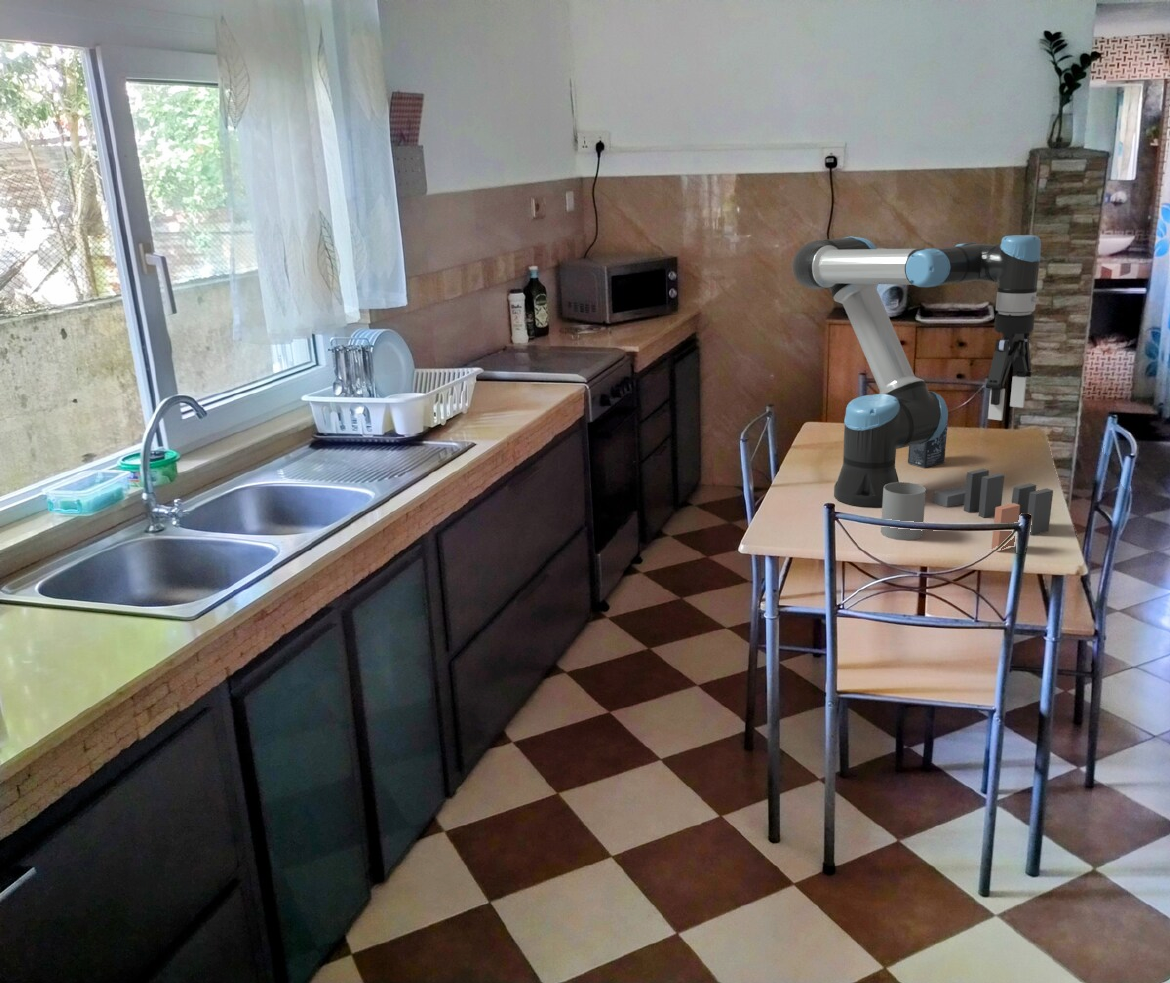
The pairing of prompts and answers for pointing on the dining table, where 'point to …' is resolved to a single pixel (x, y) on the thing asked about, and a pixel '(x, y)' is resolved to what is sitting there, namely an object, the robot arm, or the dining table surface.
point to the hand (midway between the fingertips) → (1006, 413)
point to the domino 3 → (1005, 515)
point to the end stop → (950, 496)
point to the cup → (903, 508)
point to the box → (928, 451)
